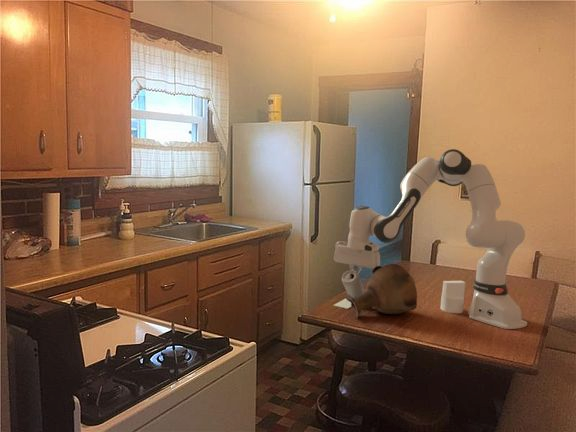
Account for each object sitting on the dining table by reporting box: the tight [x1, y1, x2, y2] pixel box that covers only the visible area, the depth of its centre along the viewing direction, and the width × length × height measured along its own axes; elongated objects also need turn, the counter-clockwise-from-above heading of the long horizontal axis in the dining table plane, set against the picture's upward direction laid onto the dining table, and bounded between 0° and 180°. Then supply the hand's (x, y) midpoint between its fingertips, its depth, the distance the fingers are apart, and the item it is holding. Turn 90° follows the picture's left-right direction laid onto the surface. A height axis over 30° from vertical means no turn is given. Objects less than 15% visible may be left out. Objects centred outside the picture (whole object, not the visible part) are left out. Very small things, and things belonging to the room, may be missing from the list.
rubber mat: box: [332, 298, 353, 310], centre depth 209 cm, size 12×6×1 cm, turn 149°
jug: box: [345, 263, 418, 319], centre depth 199 cm, size 20×20×30 cm
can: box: [341, 269, 365, 298], centre depth 215 cm, size 8×8×12 cm
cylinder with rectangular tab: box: [440, 280, 466, 314], centre depth 209 cm, size 9×9×12 cm
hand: (355, 275), depth 217 cm, fingers closed, pressing on can
